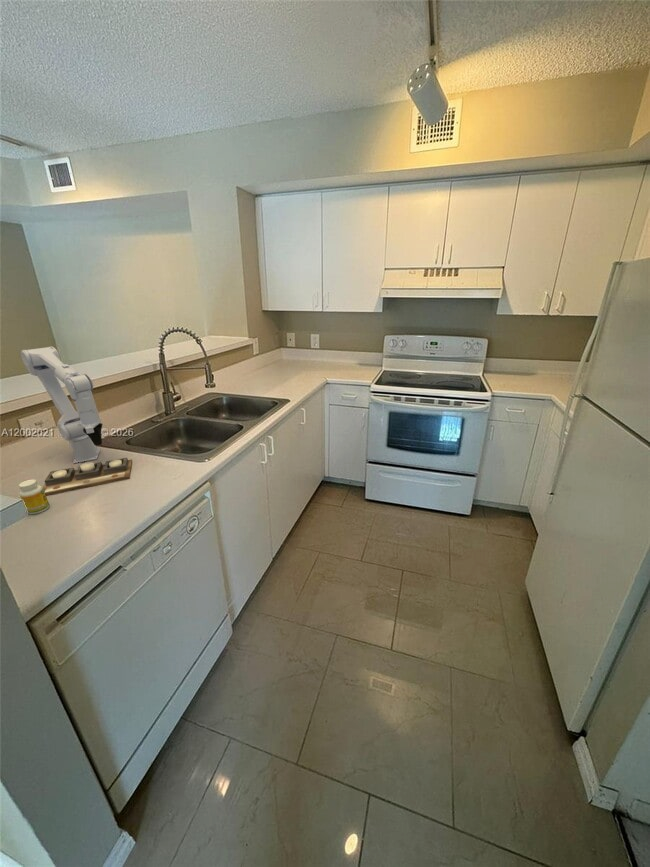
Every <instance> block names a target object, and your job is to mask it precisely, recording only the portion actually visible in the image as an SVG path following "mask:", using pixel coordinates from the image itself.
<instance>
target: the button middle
mask: <svg viewBox="0 0 650 867" xmlns="http://www.w3.org/2000/svg"><path fill="white" fill-rule="evenodd" d="M94 464H95V463H94V462H93V461H86V462H85V463H84V462H83V463H82V464H80V467H81V470H82V473H84V472H89V471H94V470H95V466H94Z"/></svg>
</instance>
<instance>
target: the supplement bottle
mask: <svg viewBox="0 0 650 867" xmlns="http://www.w3.org/2000/svg"><path fill="white" fill-rule="evenodd" d="M18 487H19V489H20V491H19V496H20V498H21V500H22V499H23V500H24V502H25V505H26V507H27V510H28V512H27V513H28V514H30V515H37V514H41V513H43V512H45V511H46V510H48V509H49V508H50V502H49V500H48V498H47V496H46V495H45V493H44V490H43V486H41V485H40V484H38V481H37V480H36V479H28V480H25V481H22V482H20V483H19V484H18ZM25 505H24V506H25ZM26 507H25V508H26ZM27 510H26V511H27Z"/></svg>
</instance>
